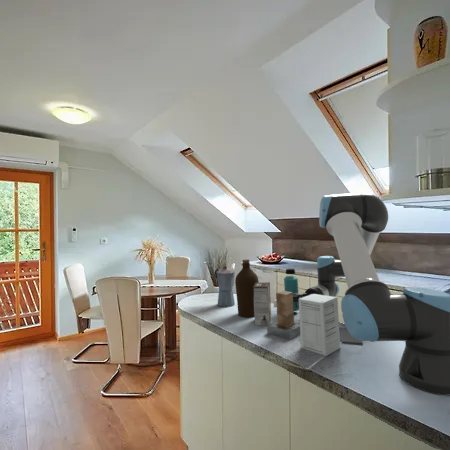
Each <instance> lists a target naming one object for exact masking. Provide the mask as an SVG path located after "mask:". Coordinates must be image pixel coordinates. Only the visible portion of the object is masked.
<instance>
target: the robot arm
mask: <svg viewBox="0 0 450 450" xmlns="http://www.w3.org/2000/svg"><path fill="white" fill-rule="evenodd" d="M318 220H319V222H318V224H319V227H320V228H323V229H326V231H327V233H328V234H329V235H330V236H332V237H333V240H334V242H335V246H336V249H337V253H338V257H339V259H335V257H334V256H332V255H321V256H318V258H317V260H316V261H317V262H316V270H317V285H314V286H312V287H309V288H307V289H306V290H305V291H304V293H294V294H293V302H298V303H299V299H300V298H303V297H306V296H309V295H311V294H318V295H325V296H332V297H337V296H338V295H339V292H340V287H339V284H338V283H337V282H336V278H345V281H346V285H347V289H346V291H345V292H344V296H343V297H342V298H341V302H340V308H341V312H342V315H341V316H342V319H343V322H344V325H345V328H347V330H348V332H349V333H350V335H351V336H352V337H354V338H355V339H357V340H360V341H362V342H364V341H365V342H371V343H375V342H401V341H402V342H403V341H404V342H405V347H404V350H403V353H402V355H401V358H400V361H399V363H398V374H399V375H398V376H399V377H400V378H401V380H402V381H404V383H406V384H407V385H409V386H411V387H414V388H415V389H419V390H421V391H423V392H427V393H431V394H435V395H436V394H437V395H442V396H450V293H448V292H445V291H441V290H437V289H432V288H427V287H426V288H425V287H419V286H405V287H404V288H403V290H402V293H393V294H392V293H391V290H390V289H389V286H388V285H387V284H386V283H385V282H383V281H380V279H379V276H378V273H377V271H376V268H375V265H374V262H373V260H372V257H371V255H372V252H373V249H374V247H375V245H376V243H377V240H378V238H379V235H380V233H382V232H383V231H384V230H386V227H387V225H388V222H389V211H388V208H387V206H386V205H385V203H384V202H383V201H382V200H381V198H380V197H378V196H377V195H375V194H373V193H368V192H361V193H339V194H337V193H335V194H329V195H323V196H322V197H321V199H320V203H319V216H318ZM273 308H277V302H276V299H274V300H273Z"/></svg>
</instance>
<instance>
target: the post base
mask: <svg viewBox="0 0 450 450" xmlns="http://www.w3.org/2000/svg"><path fill="white" fill-rule="evenodd" d="M266 332H267V334H268V335H271V336H275V337H279V338H283V339H286V340H290V341H291V340H292V339H294V338H296V337H297V336H299V335H300V321H295V320H294V325H293V326H291V327H289V328H286V327H281V326H278V324H277V320H276V321H274V322H272V323H270V324H269V325H266Z"/></svg>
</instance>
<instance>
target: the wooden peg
mask: <svg viewBox="0 0 450 450" xmlns="http://www.w3.org/2000/svg"><path fill="white" fill-rule="evenodd" d="M275 294H276V295H275V297H276V299H275V300H276V302H277V307H276V321H277V324H278V326H281V327H286V328H289V327H291V326H293V325H294V321H295V319H294V318H295V317H294V316H295V315H294V312H295V311H293V292H288V291H285V290H280V291H278V292H276V293H275Z"/></svg>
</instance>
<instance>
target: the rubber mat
mask: <svg viewBox="0 0 450 450" xmlns="http://www.w3.org/2000/svg"><path fill="white" fill-rule="evenodd" d="M339 335H340V343H341V344H349V345H360V344H361V345H363V342H364V341H360V340H357V339H355V338H354V337H352V336H351V335H350V333H349V332H348V330H347V328H346V327H341V326H339Z"/></svg>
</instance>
